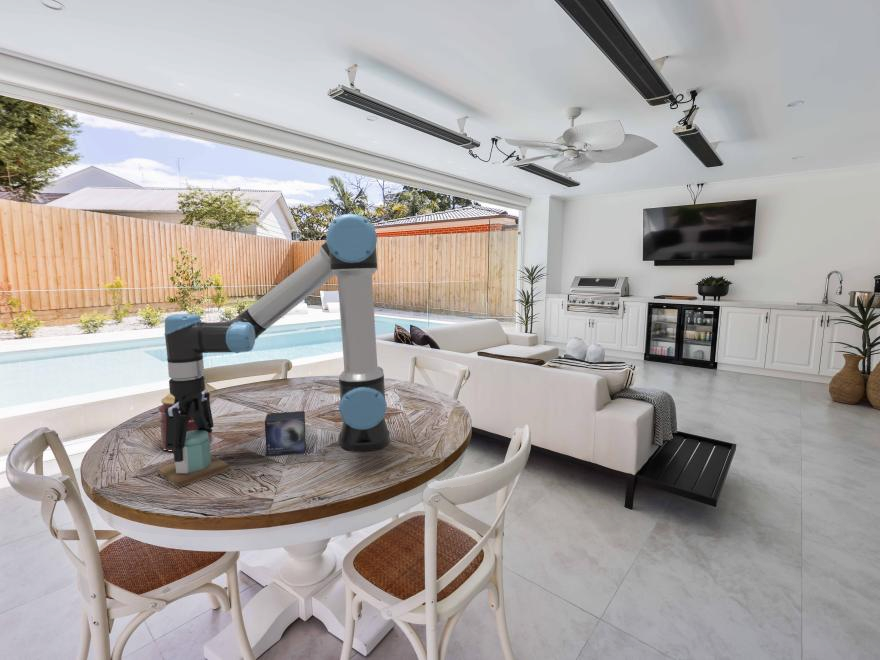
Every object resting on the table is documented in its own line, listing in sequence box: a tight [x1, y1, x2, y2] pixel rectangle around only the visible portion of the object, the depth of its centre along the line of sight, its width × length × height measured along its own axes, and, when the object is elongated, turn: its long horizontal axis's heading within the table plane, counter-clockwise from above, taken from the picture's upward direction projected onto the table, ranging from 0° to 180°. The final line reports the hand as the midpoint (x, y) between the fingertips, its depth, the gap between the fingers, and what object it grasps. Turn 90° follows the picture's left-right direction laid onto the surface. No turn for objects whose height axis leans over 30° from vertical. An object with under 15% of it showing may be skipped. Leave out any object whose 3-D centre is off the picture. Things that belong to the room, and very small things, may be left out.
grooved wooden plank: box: [156, 454, 230, 488], centre depth 106 cm, size 12×12×8 cm
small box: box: [264, 410, 307, 457], centre depth 120 cm, size 11×6×10 cm, turn 106°
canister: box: [157, 391, 213, 451], centre depth 123 cm, size 13×13×18 cm
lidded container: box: [175, 430, 212, 473], centre depth 106 cm, size 8×8×8 cm
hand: (193, 464), depth 107 cm, fingers closed on lidded container, 8 cm apart
